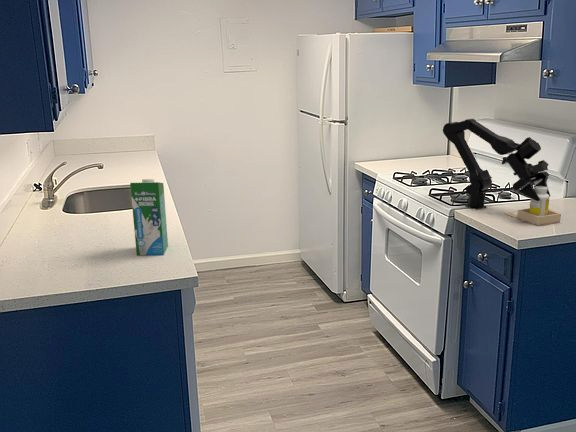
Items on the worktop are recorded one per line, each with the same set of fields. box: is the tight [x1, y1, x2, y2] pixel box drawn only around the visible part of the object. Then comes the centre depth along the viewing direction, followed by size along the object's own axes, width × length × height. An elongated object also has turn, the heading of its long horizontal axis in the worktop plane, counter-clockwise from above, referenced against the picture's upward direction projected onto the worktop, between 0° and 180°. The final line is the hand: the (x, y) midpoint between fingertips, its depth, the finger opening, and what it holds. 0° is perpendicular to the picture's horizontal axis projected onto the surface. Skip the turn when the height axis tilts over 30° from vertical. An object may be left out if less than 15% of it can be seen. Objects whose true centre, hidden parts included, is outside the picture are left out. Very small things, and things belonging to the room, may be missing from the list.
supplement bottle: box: [529, 185, 550, 217], centre depth 226 cm, size 7×7×13 cm
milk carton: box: [129, 178, 169, 256], centre depth 196 cm, size 9×9×25 cm
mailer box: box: [503, 207, 562, 227], centre depth 231 cm, size 18×11×4 cm, turn 22°
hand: (544, 198), depth 224 cm, fingers open, 8 cm apart
